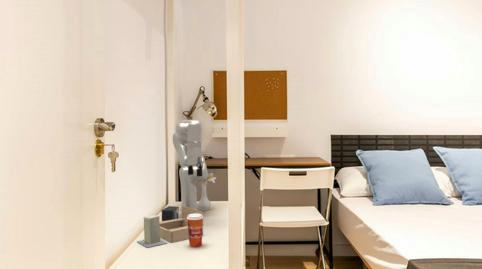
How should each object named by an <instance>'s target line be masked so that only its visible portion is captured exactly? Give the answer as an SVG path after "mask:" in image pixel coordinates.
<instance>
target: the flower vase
mask: <svg viewBox="0 0 482 269" xmlns="http://www.w3.org/2000/svg"><path fill="white" fill-rule="evenodd" d="M216 179H217V177H216V176H214V173H213V172H211V173H208V177H207V178H206V179H205V180H198V181H192V183H193V184H194V185H195V184H196V183H197V185H199V186H200V185H201V198H200V200H198V201H197V208H198V209H199V211H202V210H203V211H202V212H204V211H205V212H206V211H209V210H210V208H211V207H212V201H210V200H209V198H208V194H207V184H208V183H210V182H212V183H213V184H215V183H216V181H215V180H216Z"/></svg>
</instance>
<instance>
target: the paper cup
mask: <svg viewBox="0 0 482 269" xmlns="http://www.w3.org/2000/svg"><path fill="white" fill-rule="evenodd" d="M187 220H188V233H189V239H188V240H189V243H188V244H189V247H191V248H200V247H202V245H203V236H202V226H203V227H204V214H203V215H202V214H189V215H188V217H187Z"/></svg>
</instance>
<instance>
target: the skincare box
mask: <svg viewBox="0 0 482 269" xmlns="http://www.w3.org/2000/svg"><path fill="white" fill-rule="evenodd" d="M160 222H161V221H160V215H157V214H153V215H152V214H151V215H147V216H144V217H143V228H144V229H143V231H144V232H143V233H144V234H143V235H144V237H143V238H144V239H143V240H145V243H148V244H151V243H154V242H158V241H160V239H161V237H160Z"/></svg>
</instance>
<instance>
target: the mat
mask: <svg viewBox="0 0 482 269" xmlns="http://www.w3.org/2000/svg"><path fill="white" fill-rule="evenodd" d="M136 243H137V244H139V245H141V246H142V247H144V248H146V249H150V248H154V247H159V246H163V245H167V244H168V241H166V240H164V239H162V238H160V241H158V242H154V243H151V244H148V243H145V240H144V239H142V240H137V241H136Z"/></svg>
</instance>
